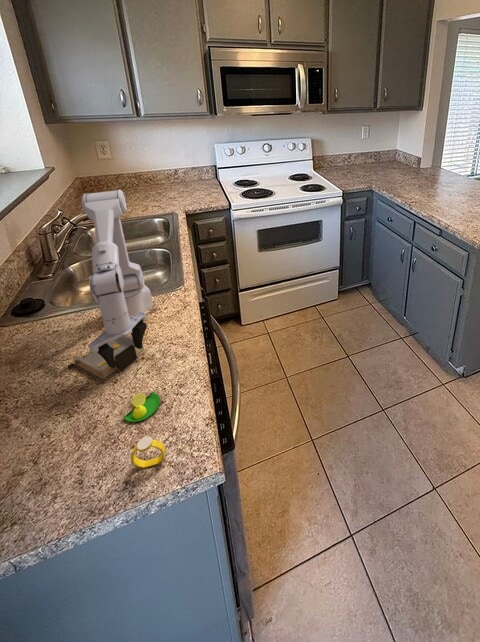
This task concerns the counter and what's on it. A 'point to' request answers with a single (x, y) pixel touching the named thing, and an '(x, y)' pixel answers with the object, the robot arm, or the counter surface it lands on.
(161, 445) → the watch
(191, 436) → the counter surface
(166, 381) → the counter surface
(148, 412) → the green plate with lemons
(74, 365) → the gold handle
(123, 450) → the counter surface
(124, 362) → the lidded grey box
